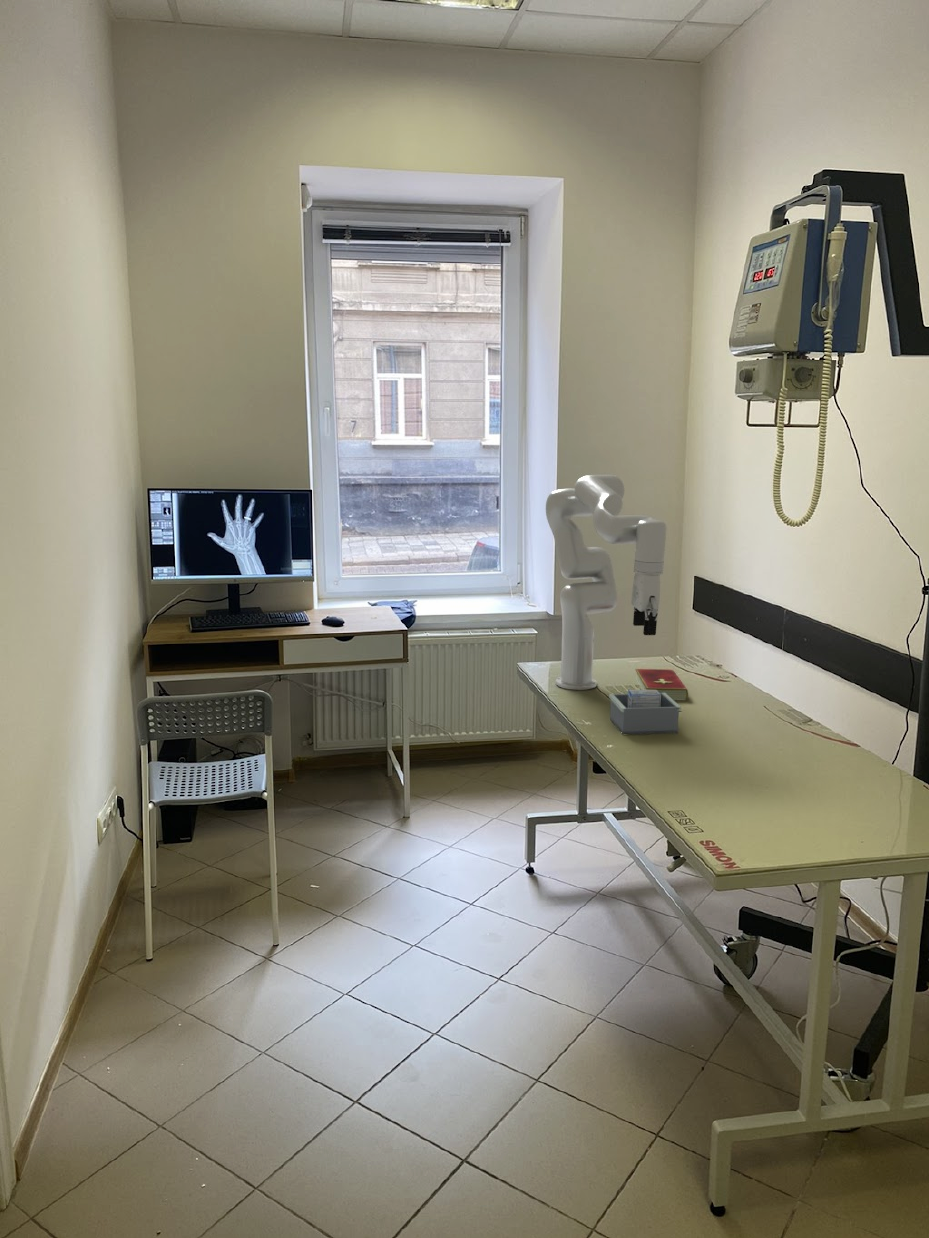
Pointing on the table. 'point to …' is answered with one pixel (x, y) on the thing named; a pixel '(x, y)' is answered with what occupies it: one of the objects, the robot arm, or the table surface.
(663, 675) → the hardcover book
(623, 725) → the bin
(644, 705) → the medicine box
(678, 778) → the table surface
